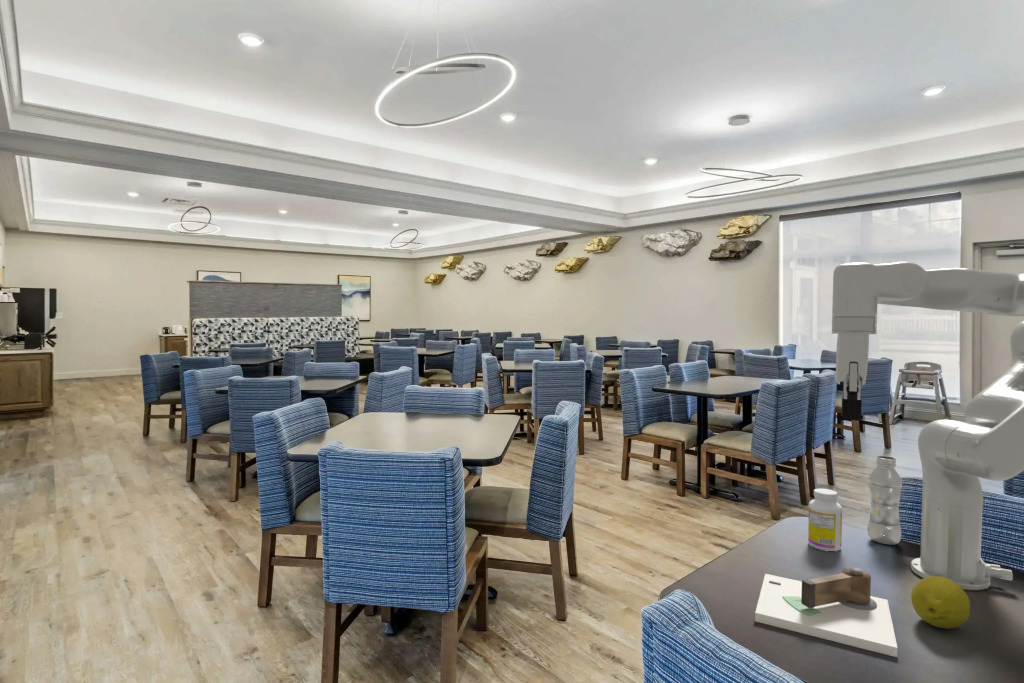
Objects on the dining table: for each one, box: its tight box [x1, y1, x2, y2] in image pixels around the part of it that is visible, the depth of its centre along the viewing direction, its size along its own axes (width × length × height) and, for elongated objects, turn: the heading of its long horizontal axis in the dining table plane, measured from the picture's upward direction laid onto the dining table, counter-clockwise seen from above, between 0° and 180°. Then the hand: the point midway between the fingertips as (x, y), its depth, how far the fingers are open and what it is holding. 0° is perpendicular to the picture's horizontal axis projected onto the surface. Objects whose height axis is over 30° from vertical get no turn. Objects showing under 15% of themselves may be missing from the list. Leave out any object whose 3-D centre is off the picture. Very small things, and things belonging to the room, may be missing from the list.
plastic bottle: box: [866, 455, 903, 545], centre depth 128 cm, size 6×7×20 cm
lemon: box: [910, 576, 971, 630], centre depth 93 cm, size 11×8×8 cm
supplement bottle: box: [807, 488, 843, 552], centre depth 126 cm, size 7×7×13 cm
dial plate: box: [754, 573, 898, 658], centre depth 97 cm, size 20×17×2 cm
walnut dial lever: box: [801, 567, 872, 608], centre depth 97 cm, size 14×4×5 cm, turn 109°
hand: (851, 419), depth 109 cm, fingers closed
